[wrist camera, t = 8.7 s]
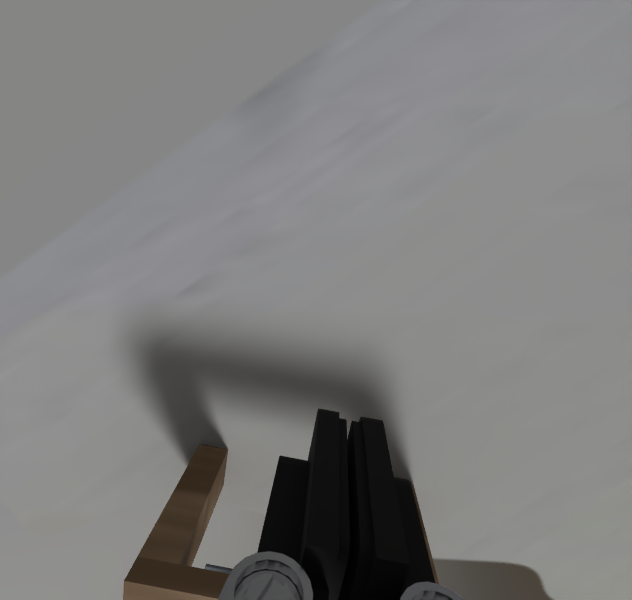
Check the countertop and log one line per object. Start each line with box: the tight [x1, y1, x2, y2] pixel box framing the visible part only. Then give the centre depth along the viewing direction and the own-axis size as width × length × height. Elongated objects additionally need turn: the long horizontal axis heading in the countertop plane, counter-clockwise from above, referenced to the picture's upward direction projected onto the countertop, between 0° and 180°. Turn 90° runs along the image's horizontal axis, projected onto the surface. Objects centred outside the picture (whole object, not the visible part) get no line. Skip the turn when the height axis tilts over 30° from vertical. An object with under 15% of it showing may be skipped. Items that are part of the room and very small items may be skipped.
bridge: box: [123, 445, 439, 600], centre depth 22 cm, size 3×15×10 cm, turn 80°
